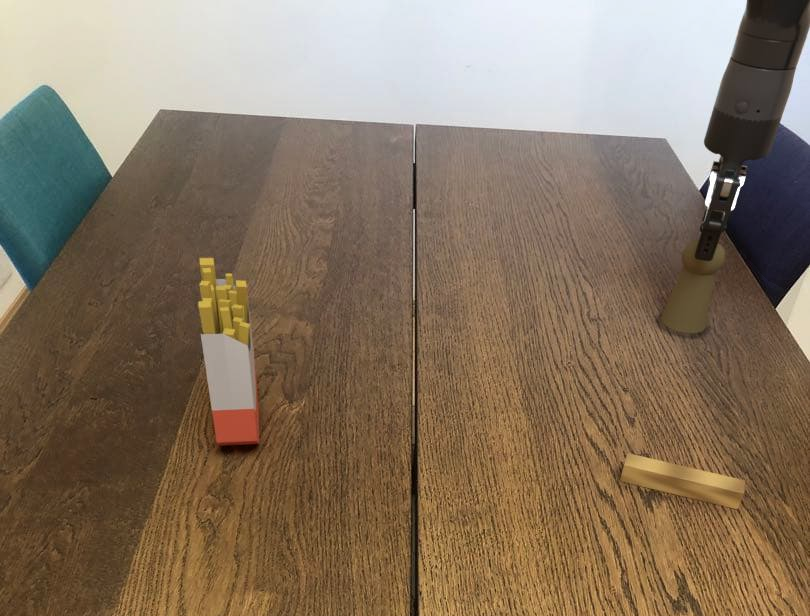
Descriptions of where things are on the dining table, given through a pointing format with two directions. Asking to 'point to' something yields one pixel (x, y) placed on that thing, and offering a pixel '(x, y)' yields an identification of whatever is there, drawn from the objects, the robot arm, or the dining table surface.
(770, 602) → the dining table surface
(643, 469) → the golden stick
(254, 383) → the french fries container
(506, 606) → the dining table surface
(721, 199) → the robot arm
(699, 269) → the olive pawn
